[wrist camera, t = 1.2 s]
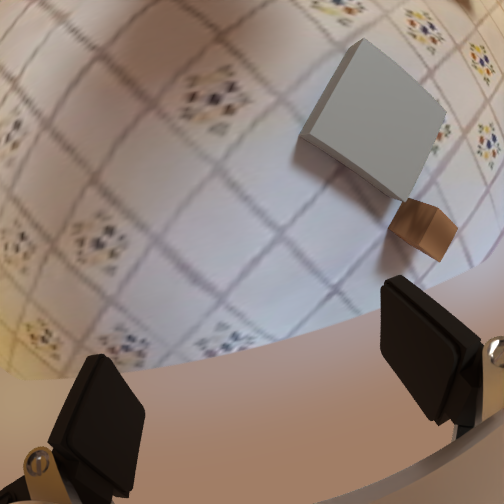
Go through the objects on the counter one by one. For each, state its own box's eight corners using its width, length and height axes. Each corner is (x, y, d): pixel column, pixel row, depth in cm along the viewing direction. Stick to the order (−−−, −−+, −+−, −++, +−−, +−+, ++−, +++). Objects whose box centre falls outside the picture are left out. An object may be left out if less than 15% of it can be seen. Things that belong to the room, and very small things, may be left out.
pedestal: (349, 47, 26) (363, 37, 22) (427, 113, 29) (446, 111, 26) (298, 135, 29) (309, 133, 26) (388, 196, 33) (405, 202, 29)
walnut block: (404, 196, 33) (438, 207, 27) (425, 214, 35) (458, 228, 28) (387, 228, 34) (418, 245, 28) (409, 244, 36) (439, 262, 29)
